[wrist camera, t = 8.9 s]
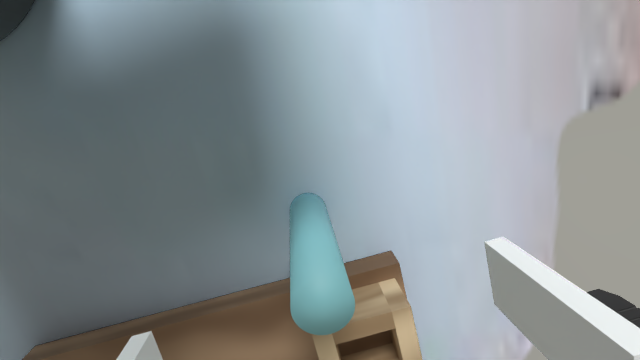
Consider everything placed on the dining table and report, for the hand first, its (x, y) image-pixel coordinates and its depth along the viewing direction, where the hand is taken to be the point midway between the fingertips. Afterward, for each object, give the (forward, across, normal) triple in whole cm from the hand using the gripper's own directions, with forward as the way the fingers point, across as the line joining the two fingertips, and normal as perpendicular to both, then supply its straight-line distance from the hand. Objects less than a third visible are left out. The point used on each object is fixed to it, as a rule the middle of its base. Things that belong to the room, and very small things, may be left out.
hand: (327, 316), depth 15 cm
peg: (+12, 0, 0) cm, 12 cm away
